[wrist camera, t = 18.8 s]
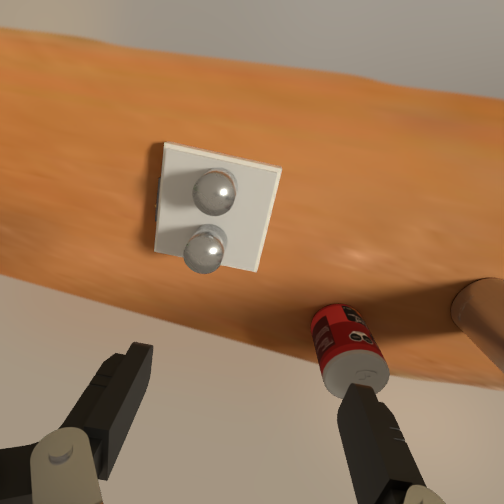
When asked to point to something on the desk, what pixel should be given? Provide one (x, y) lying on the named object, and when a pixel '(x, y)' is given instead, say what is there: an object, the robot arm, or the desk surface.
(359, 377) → the canned food
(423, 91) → the desk surface
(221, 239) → the cylinder
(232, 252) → the scale
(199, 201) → the disc
